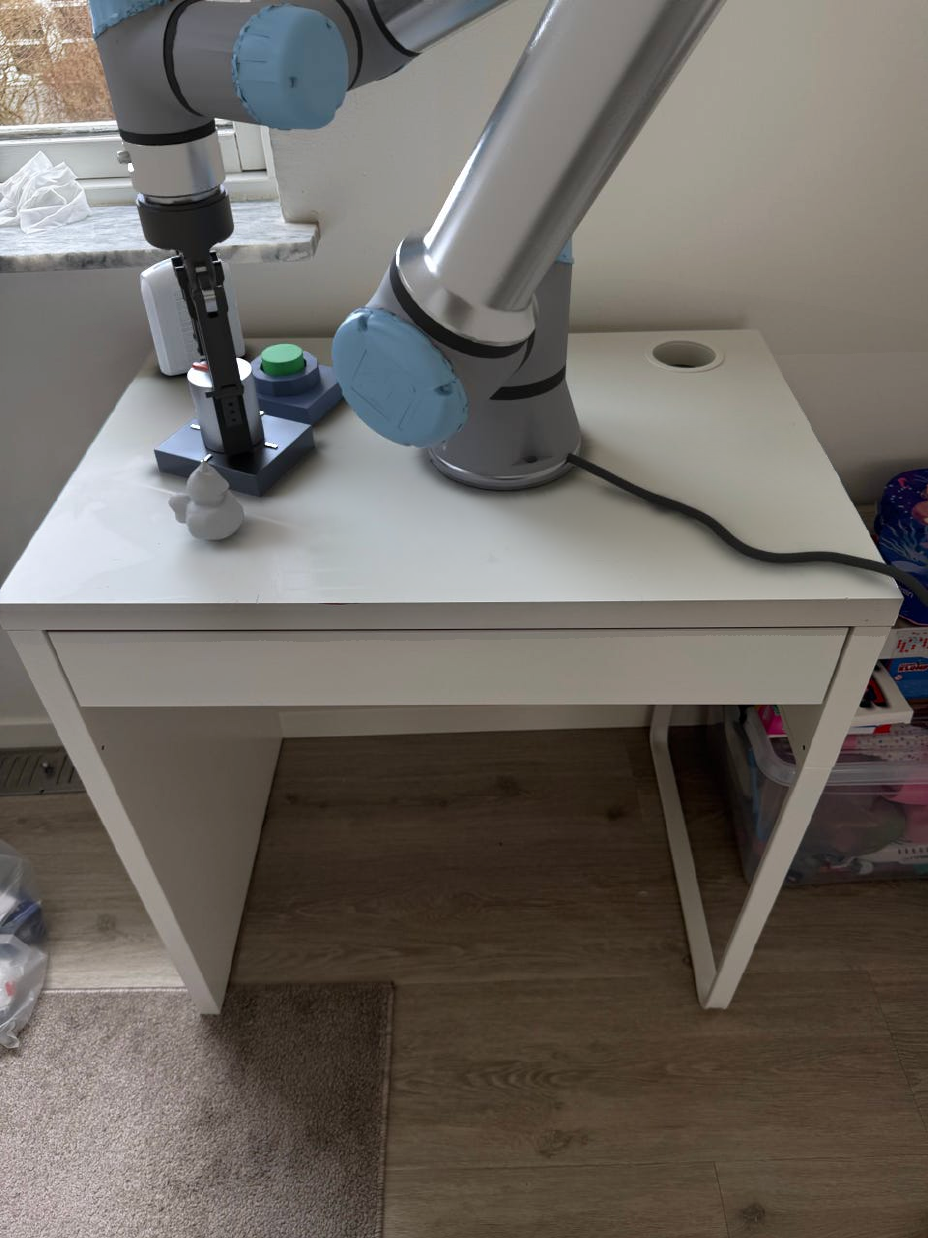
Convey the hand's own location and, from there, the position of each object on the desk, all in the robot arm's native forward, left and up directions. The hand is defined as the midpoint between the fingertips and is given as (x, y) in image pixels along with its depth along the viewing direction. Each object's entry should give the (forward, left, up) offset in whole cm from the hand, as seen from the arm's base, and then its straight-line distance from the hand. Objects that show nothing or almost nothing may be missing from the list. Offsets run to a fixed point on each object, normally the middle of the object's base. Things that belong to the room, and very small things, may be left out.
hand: (232, 433), depth 93 cm
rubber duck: (-5, +11, -3) cm, 13 cm away
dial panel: (0, 0, -3) cm, 3 cm away
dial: (0, 0, 0) cm, 0 cm away
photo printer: (+16, -16, -3) cm, 23 cm away
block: (+2, -12, -3) cm, 13 cm away
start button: (+2, -12, +1) cm, 13 cm away
